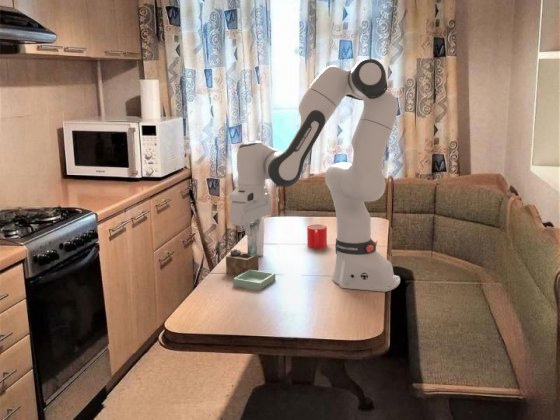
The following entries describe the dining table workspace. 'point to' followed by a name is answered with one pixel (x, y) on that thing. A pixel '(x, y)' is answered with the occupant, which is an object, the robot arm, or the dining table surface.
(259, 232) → the white tall cup
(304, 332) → the dining table surface
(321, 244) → the mug
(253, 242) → the pin
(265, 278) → the tray
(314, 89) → the robot arm
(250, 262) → the tensioner block
